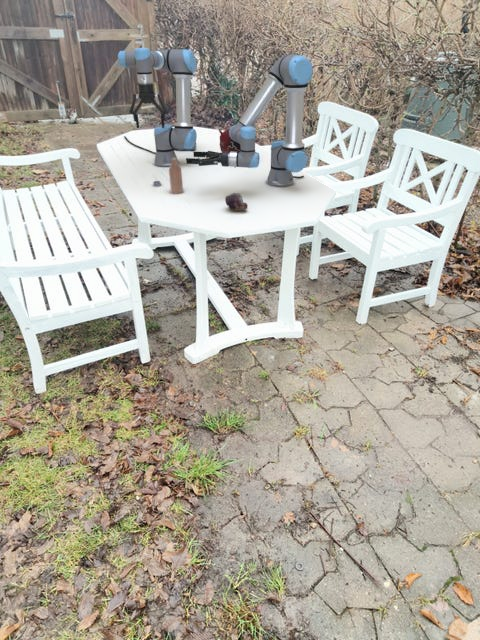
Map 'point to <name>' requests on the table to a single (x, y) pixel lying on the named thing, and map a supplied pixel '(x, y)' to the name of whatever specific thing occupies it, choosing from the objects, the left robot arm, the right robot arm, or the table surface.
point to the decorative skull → (228, 142)
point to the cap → (156, 183)
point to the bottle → (175, 177)
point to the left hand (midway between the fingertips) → (150, 127)
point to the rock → (235, 202)
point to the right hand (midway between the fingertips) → (190, 157)
